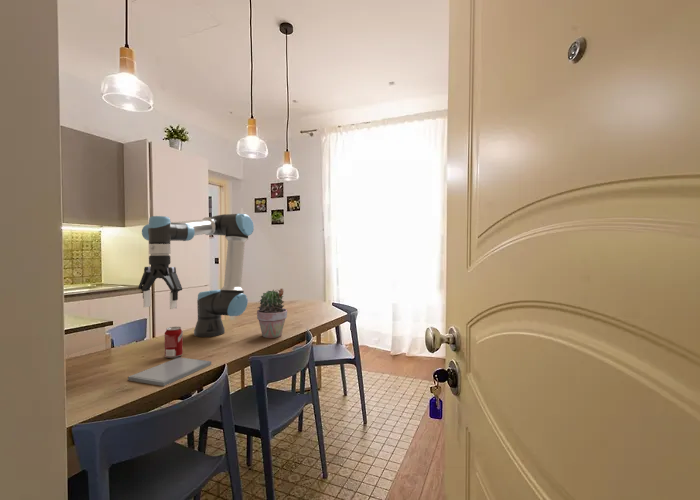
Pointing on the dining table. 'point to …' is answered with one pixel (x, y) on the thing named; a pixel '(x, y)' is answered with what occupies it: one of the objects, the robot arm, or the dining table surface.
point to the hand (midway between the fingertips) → (160, 307)
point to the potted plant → (271, 314)
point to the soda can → (173, 342)
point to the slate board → (169, 371)
